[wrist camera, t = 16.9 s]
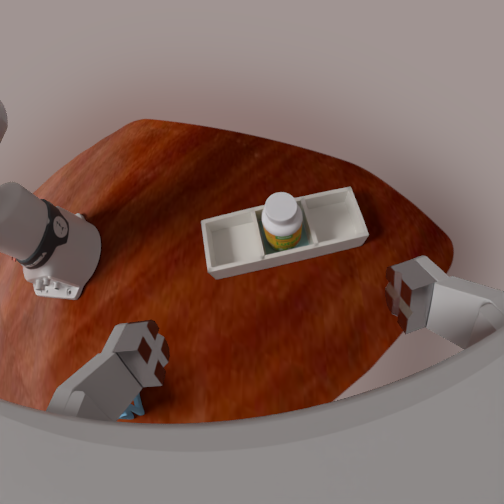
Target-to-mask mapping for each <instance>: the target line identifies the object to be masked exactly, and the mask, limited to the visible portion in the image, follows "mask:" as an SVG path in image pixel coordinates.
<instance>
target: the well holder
mask: <svg viewBox="0 0 504 504" xmlns="http://www.w3.org/2000/svg"><path fill="white" fill-rule="evenodd" d="M295 200H296V202H297V204H298V206H299V207H300V209H301V211H302V215H303V220H302V232H301V239H300V242H299V244H298V245H297V246H296V247H295V248H294V249H290V250H285V251H277V250H275V249H273V248H272V247H271V246H270V245H269V244H268V242H267V239H266V236H265V232H264V228H263V224H262V212H263V209H264V207H265V205H262V206H258V207H254V208H249V209H245V210H241V211H237V212H233V213H229V214H225V215H221V216H217V217H213V218H209V219H205V220H202V221H201V225H202V233H203V241H204V248H205V255H206V262H207V269H208V273H209V274H210V275H212V276H213V277H214V278H215V279H216V280H217V279H221V278H226V277H230V276H235V275H239V274H244V273H248V272H253V271H257V270H262V269H266V268H270V267H275V266H279V265H283V264H288V263H292V262H296V261H300V260H305V259H309V258H313V257H317V256H321V255H325V254H330V253H334V252H338V251H342V250H346V249H350V248H354V247H358V246H362V245H363V243H364V242H365V240H366V239H367V237H368V236H369V233H368V231H367V228H366V225H365V222H364V220H363V217H362V214H361V212H360V209H359V206H358V204H357V201H356V199H355V196H354V194H353V191H352V189H351V187H346V188H341V189H336V190H331V191H326V192H321V193H316V194H312V195H307V196H302V197H298V198H295Z"/></svg>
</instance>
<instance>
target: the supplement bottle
mask: <svg viewBox="0 0 504 504" xmlns="http://www.w3.org/2000/svg"><path fill="white" fill-rule="evenodd" d="M302 220H303V215H302V211H301V209H300V207H299V206H298V204H297V202H296V200H295V198H294V197H293V196H291V195H290V194H288V193H285V192H278V193H274V194H272V195H271V196H270V197H269V198H268V199H267V200H266V203H265V207H264V209H263V212H262V224H263V228H264V232H265V236H266V239H267V242H268V244H269V245H270V246H271V247H272V248H273V249H275V250H277V251H285V250H290V249H294V248H295V247H296V246H297V245H298V244H299V242H300V239H301V232H302Z"/></svg>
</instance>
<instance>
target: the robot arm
mask: <svg viewBox="0 0 504 504" xmlns="http://www.w3.org/2000/svg"><path fill="white" fill-rule="evenodd" d="M7 123H8V122H7V114H6V110H5V108H4V105H3V104H2V102H1V101H0V143H1V141H2V138H3V136H4V134H5V132H6V130H7V126H8V125H7ZM0 252H2V253H4V254H7V255H9V256H12V260H13V257H14V261H15V262H16V260H17V261H18V262H19V263H20V264H21V265H22V266H23V272H24V276H25V279H26V280H27V281H28V282H31V283H33V286H34V290H35V293H36V295H38V296H41V297H50V298H61V299H72V300H76V299H78V298H79V296H80V294H81V292H82V289H83V286H84V285H85V283H86V282H87V281H88V280H89V279H90V277H91V276H92V274H93V273H94V271H95V269H96V267H97V264H98V261H99V257H100V252H101V239H100V235H99V232H98V230H97V229H96V227H95V226H94V225H92V224H90V223H88V222H87V221H86V220H85V218H84V217H83V215H81V214H79V213H77V214H75V215H74V214H72V213H71V212H69V211H67V210H65V209H63V208H61V207H59V206H56V207H55V206H54V205H53V204H52V203H50V202H48V201H46V200H44V199H39V198H38V197H36V196H35V195H34V194H32V193H31V192H29V191H28V190H27V189H25V188H24V187H22V186H21V185H20V184H18V183H15V182H8V183H5V184H2V185H1V186H0ZM386 279H387V280H388V281H389V283H388V285H387V287H386V288H385V298H386V303H387V306H388V308H389V310H390V312H391V313H392V314H394V315H396V316H398V321H397V322H398V324H399V325H400V327H401V328H402V330H403V331H404V333H405V334H408V333H411V332H413V331H416V330H419V329H421V328H424V327H426V328H427V329H429V330H431V331H433V332H434V333H436V334H438V335H440V336H442V337H443V338H445V339H447V340H449V341H450V342H452V343H454V344H456V345H458V346H460V347H461V348H463V349H465V350H463V351H461V352H459V353H457V354H456V355H453V356H452V357H450V358H448V359H446V360H444V361H441V362H439V363H437V364H435V365H433V366H431V367H429V368H427V369H424V370H422V371H420V372H417V373H415V374H413V375H410V376H408V377H405V378H403V379H400V380H398V381H395V382H392V383H390V384H387V385H384V386H382V387H379V388H376V389H373V390H370V391H367V392H364V393H361V394H358V395H354V396H351V397H348V398H344V399H341V400H337V401H334V402H330V403H326V404H322V405H318V406H314V407H309V408H305V409H300V410H296V411H291V412H285V413H280V414H274V415H268V416H262V417H255V418H248V419H240V420H231V421H220V422H207V423H187V424H144V423H125V422H116V421H117V420H118V418H119V417H120V416H121V415H122V413H123V412H124V411H125V410H126V408H127V407H128V406H129V405H130V403H131V402H132V401H133V400H134V398H135V397H136V396H137V395H138V393H139V392H140V391H141V390H142V387H153V386H163V382H164V378H165V374H166V371H165V369H164V368H163V367H164V366H165V365H166V364H167V363H168V361H169V357H170V355H169V347H168V344H167V341H166V340H165V338H164V337H163V336H161V335H160V334H158V331H159V327H158V326H157V324H156V322H155V321H153V320H145V321H138V322H130V323H123V324H118V325H116V326H115V327H114V329H113V331H112V333H111V335H110V337H109V339H108V341H107V343H106V345H105V347H104V349H103V351H102V353H101V354H97V355H96V356H95V357H94V358H92V359H91V360H90V361H89V362H88V363H86V364H85V365H84V366H83V367H82V368H80V369H79V370H78V371H77V372H76V373H74V374H73V375H72V376H71V377H70V378H68V379H67V380H66V381H65V382H64V383H63V384H61V385H60V386H59V387H58V388H57V389H56V391H55V393H54V395H53V397H52V399H51V401H50V404H49V406H48V408H47V410H46V411H42V410H38V409H34V408H30V407H26V406H22V405H19V404H15V403H12V402H8V401H5V400H3V399H0V504H504V291H501V290H498V289H494V288H491V287H488V286H485V285H481V284H478V283H475V282H471V281H468V280H464V279H461V278H457V277H454V276H451V277H448V276H447V275H446V274H445V273H444V272H443V271H442V270H441V269H440V268H439V267H438V266H437V265H435V264H434V263H433V262H432V261H431V260H430V259H429V258H427V257H426V256H420V257H417V258H414V259H411V260H409V261H406V262H403V263H399V264H396V265H393V266H390V267H387V270H386Z"/></svg>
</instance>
